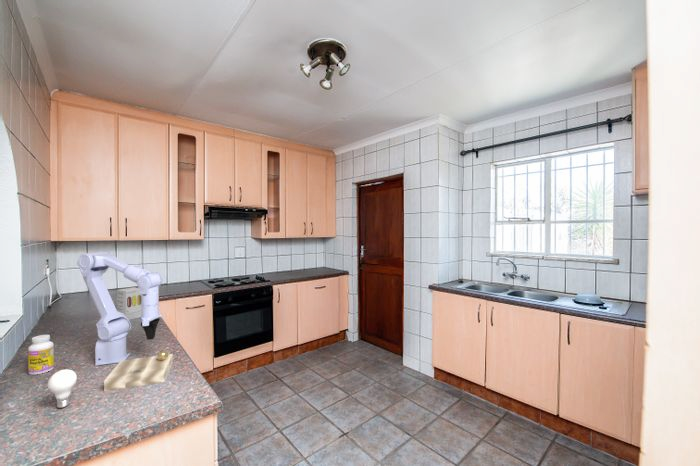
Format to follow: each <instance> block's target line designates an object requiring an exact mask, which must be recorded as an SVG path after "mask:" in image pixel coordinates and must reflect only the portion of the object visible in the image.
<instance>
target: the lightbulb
mask: <svg viewBox="0 0 700 466" xmlns="http://www.w3.org/2000/svg"><path fill="white" fill-rule="evenodd" d="M77 379H78V375H77V372H76V371H74V370H72V369H70V368H69V369H67V368H65V369H60V370H57V371H56V372H54V373H53V374H52V375H51V376H50V377H49V379H48V381H47V387H48V390H49V391H50V392H51V393H53V395H54V397H55V399H56V405H57V406H56V407H57V408H58V409H59V408H61V409H63V408H65V407H67V406H69V404H70V395H71V394H72V390H73V388H74V387H75V385H76V383H77V381H78V380H77Z"/></svg>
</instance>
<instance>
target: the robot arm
mask: <svg viewBox="0 0 700 466" xmlns="http://www.w3.org/2000/svg"><path fill="white" fill-rule="evenodd" d="M76 264H77V266H78V268H79V271H80V273H81V275H82V278H83V279H82V280H83V281H84V282H85V285H86V287H87V289H88V292H89V294H90V297H91V299H92V301H93V304H94V305H95V308H96V309H97V312H98V315H99V317H100V319H99V320H98V321H97V322H96V324H95V326H96V327H97V336H98V338H99V339H98V340H97V341H96V343H95V347H94V348H95V349H94V353H95V355H94V356H95V359H94V360H95V364H94V366H101V365H102V366H103V365H110V364H118V363H119V362H120V361H121V360H128V358H129V356H130V355H131V353H130V352H127V336H128V333H129V331H131V328H132V323H131V320H128V319H127V318H126V316H125V314H123V313H120V312H118V311H117V307H116V306H115V303H114V301H113V299H112V296H111V294H110V293H109V290H108V288H107V285H106V283H105V280H104V278H103V274H105V273H106V272H107V270H108V269H109V268H110V269H113V270H115V271H118V272H120V273H122V274H123V277H124V278H125V279H127V280H129V281H130V282H133V283H135V284H136V285H137V288H139V289H140V293H141V313H142V316H141V317H140V320H141V322H140V326H141V327H142V329H143V331H144V334H145V337H146V339H147V341H148V340H149V341H150V340H154V339H155V337H156V332H157V328H158V325H159V322H160V320H161V318H162V317H163V313H160V302H159V301H160V299H159V297H160V296H159V295H160V293H159V291H160V290H159V288H160V287H159V286H161V284H162V282H163V277H162V275H161V274H159V273H158V272H157V271H154V272H151V271H150V270H148V269H144V268H142V267H140V265H139V264H130V265H129V264H128V263H126V262H124V261H123V260H121V259H120V258H118V257H117V256H115V253H112V252H110V251H108V250H104V251H98V252H97V251H96V252H90V253H89V252H84V253H81V254H80V256H79V258H78V260H77V262H76Z"/></svg>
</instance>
